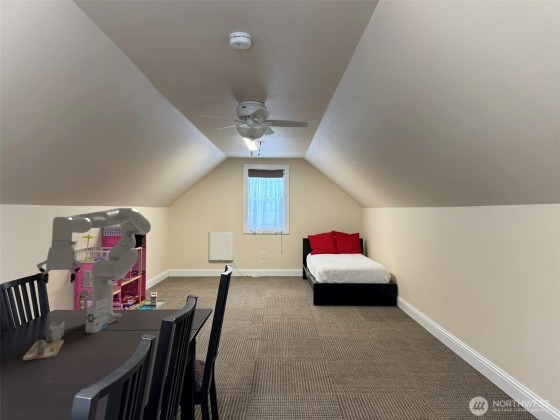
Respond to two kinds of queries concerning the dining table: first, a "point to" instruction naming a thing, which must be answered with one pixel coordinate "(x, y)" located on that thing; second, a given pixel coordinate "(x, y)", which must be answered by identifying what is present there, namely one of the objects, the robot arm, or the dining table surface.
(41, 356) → the cradle
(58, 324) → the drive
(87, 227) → the robot arm
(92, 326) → the ink box
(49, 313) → the dining table surface
